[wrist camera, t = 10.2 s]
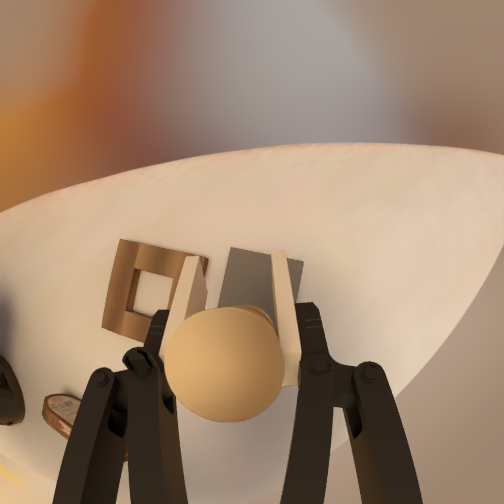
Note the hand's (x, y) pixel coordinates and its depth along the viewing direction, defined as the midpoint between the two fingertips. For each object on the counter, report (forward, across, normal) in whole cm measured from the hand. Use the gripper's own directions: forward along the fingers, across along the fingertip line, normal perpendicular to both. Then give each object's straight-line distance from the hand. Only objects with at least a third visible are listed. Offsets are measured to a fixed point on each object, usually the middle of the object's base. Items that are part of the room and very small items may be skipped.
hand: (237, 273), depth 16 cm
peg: (+1, 0, -6) cm, 6 cm away
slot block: (+13, -13, -13) cm, 22 cm away
